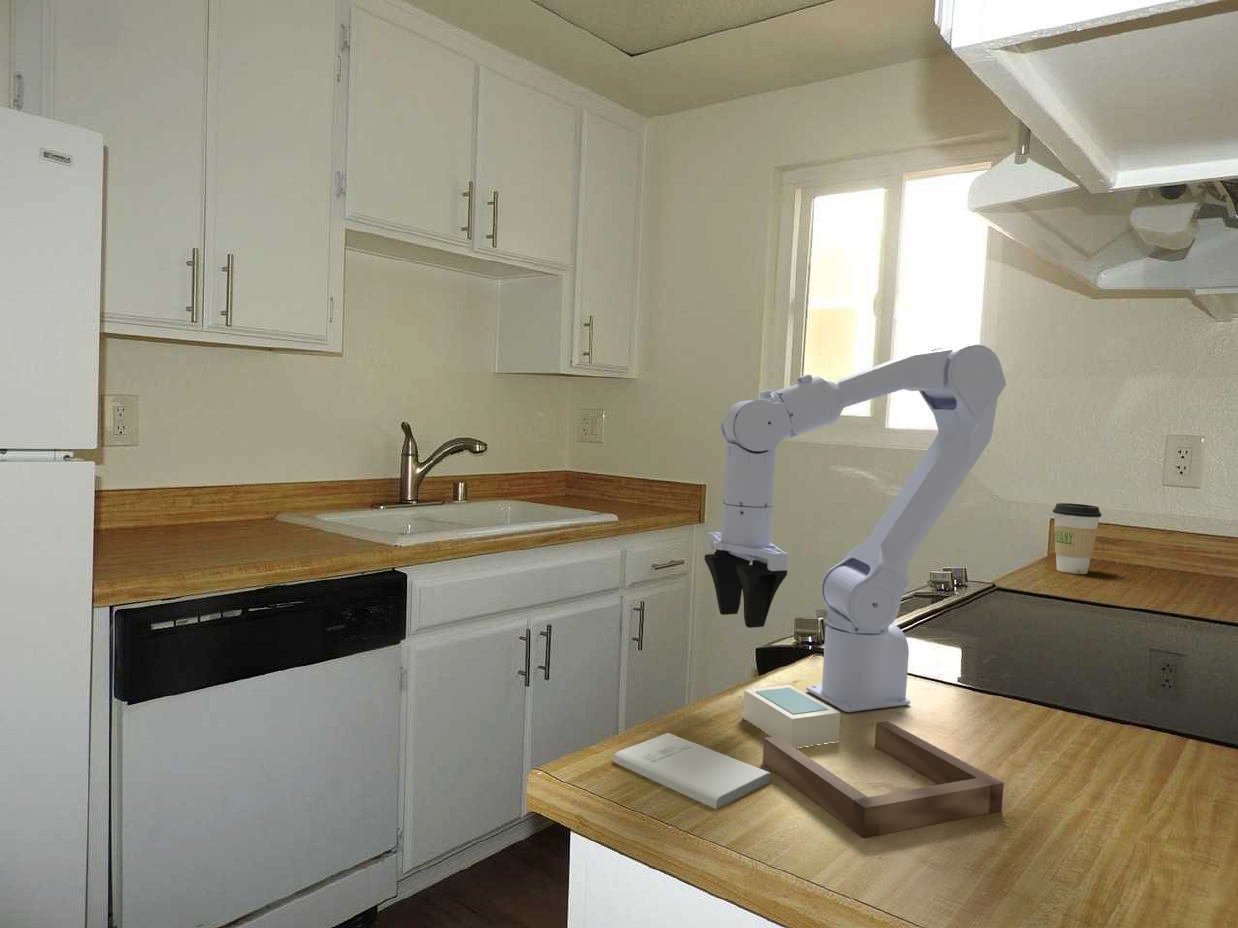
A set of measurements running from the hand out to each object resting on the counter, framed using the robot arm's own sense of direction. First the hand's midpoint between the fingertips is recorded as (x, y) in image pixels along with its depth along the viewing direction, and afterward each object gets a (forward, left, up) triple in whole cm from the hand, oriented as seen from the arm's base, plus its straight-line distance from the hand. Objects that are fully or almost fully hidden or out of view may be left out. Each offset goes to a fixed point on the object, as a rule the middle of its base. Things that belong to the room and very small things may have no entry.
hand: (741, 619), depth 101 cm
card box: (0, +10, -10) cm, 14 cm away
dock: (0, +24, -9) cm, 26 cm away
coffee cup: (-119, -52, -10) cm, 130 cm away
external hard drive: (+15, +16, -10) cm, 24 cm away
